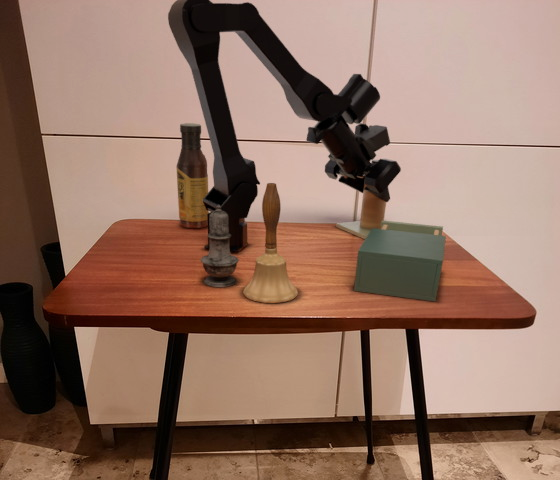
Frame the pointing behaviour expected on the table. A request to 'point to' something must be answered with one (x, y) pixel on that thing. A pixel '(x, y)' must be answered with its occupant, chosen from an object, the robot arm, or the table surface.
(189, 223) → the sauce bottle
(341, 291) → the table surface
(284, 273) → the hand bell
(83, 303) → the table surface
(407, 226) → the drawer
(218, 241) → the salt shaker
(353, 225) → the tile
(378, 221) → the pepper mill
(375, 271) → the cabinet
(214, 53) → the robot arm
